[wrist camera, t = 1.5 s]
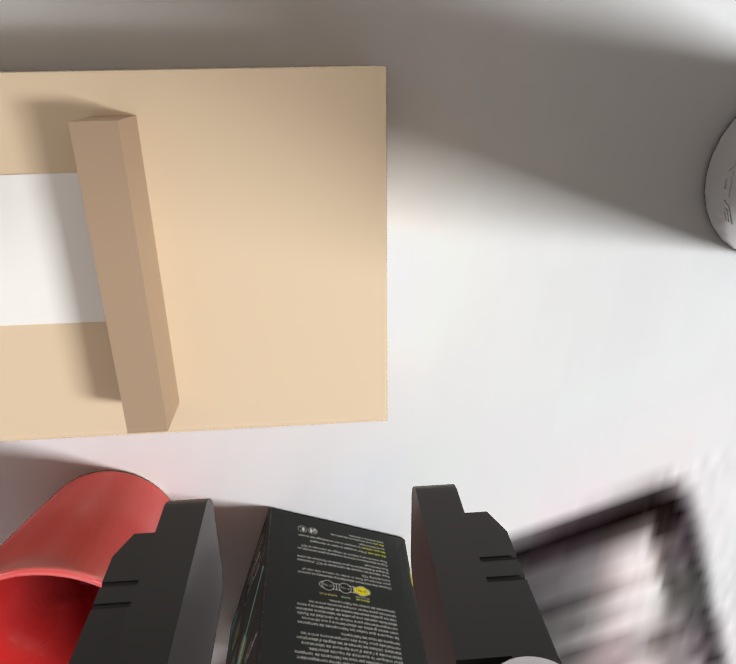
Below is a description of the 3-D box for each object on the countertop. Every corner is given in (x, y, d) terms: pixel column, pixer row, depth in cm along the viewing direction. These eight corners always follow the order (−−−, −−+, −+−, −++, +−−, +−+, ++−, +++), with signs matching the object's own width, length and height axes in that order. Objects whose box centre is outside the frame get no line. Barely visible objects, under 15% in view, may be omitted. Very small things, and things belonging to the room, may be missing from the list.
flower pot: (53, 599, 41) (-21, 750, 32) (-2, 457, 36) (-104, 586, 27) (218, 579, 41) (191, 722, 32) (184, 436, 37) (142, 555, 28)
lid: (383, 66, 24) (393, 66, 21) (385, 411, 30) (393, 449, 27) (-174, 75, 23) (-247, 77, 20) (-57, 435, 28) (-100, 477, 26)
